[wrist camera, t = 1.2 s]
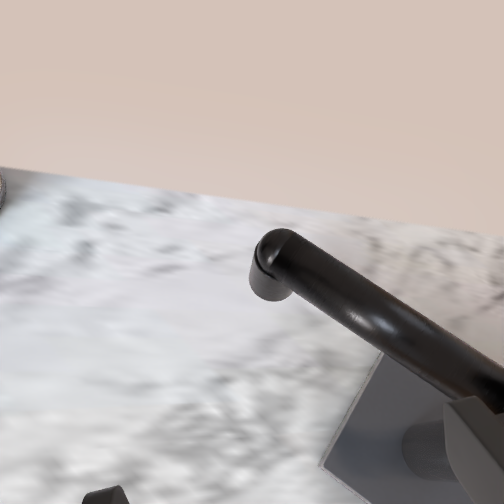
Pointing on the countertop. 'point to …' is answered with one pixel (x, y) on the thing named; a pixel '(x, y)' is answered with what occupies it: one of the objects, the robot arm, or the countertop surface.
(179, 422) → the countertop surface
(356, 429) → the faucet base
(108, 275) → the countertop surface
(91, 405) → the countertop surface
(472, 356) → the spout
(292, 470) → the countertop surface
